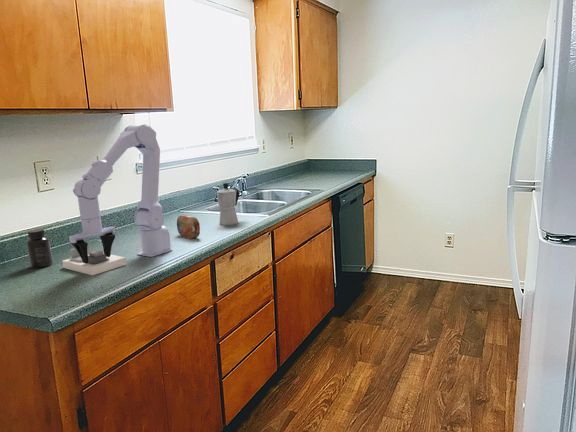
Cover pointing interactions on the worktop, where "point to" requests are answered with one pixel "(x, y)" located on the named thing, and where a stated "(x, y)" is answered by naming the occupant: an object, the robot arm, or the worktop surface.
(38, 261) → the supplement bottle
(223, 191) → the coffee maker
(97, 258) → the plug
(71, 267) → the socket plate
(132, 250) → the worktop surface
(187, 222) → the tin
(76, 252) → the shutter
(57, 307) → the worktop surface
